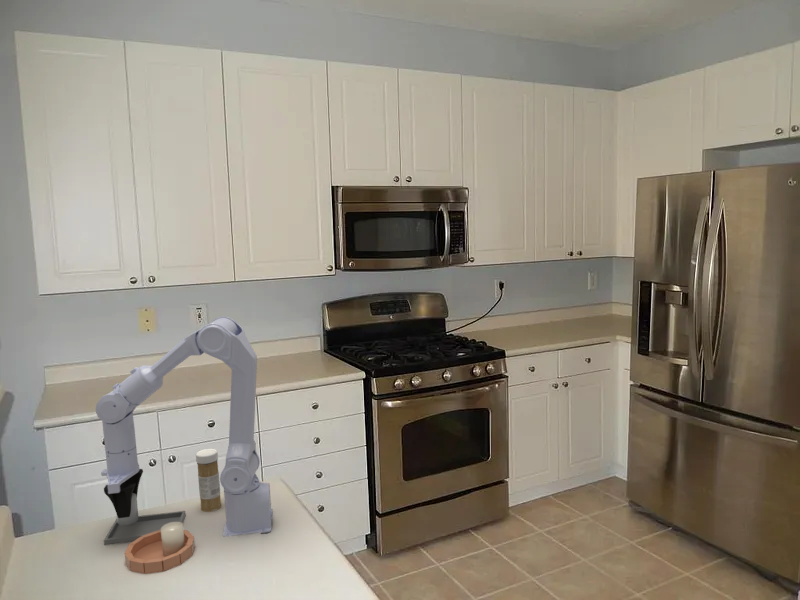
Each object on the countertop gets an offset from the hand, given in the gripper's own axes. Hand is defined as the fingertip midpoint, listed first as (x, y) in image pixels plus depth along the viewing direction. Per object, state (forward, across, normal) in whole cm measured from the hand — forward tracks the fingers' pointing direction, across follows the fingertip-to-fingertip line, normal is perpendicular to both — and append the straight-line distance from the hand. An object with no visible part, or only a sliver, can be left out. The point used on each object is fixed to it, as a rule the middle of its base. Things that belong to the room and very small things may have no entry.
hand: (127, 511), depth 122 cm
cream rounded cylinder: (+4, +11, +11) cm, 16 cm away
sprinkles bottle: (+5, -7, +15) cm, 18 cm away
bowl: (+5, +11, +8) cm, 15 cm away
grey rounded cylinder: (+2, 0, 0) cm, 2 cm away
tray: (+5, 0, +3) cm, 6 cm away
